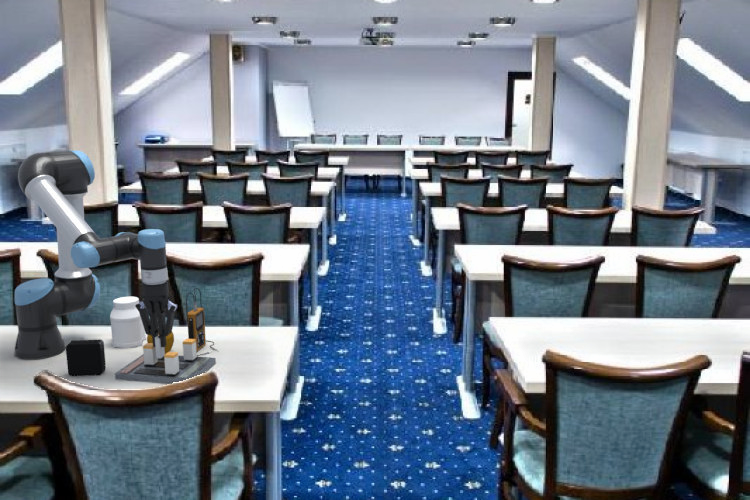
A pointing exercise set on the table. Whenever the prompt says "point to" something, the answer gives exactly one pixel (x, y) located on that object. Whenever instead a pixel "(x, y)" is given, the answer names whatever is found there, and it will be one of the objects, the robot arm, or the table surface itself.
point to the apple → (168, 342)
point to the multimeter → (197, 325)
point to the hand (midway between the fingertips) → (160, 356)
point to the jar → (126, 323)
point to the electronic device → (85, 357)
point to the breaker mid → (149, 354)
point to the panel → (157, 371)
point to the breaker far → (189, 349)
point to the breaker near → (171, 363)
